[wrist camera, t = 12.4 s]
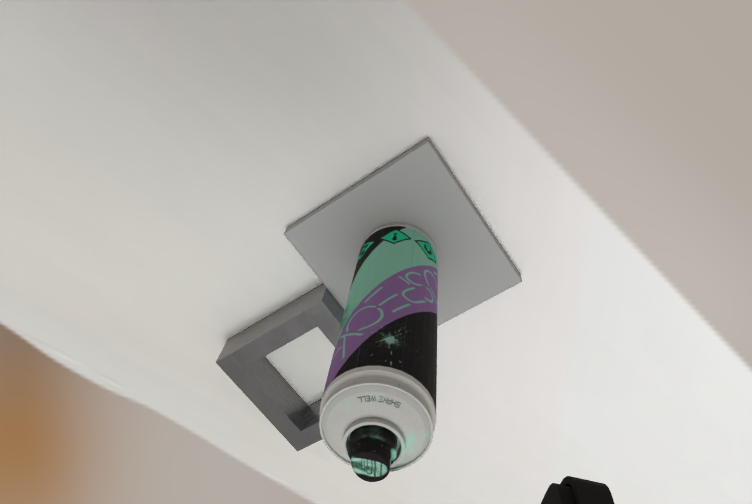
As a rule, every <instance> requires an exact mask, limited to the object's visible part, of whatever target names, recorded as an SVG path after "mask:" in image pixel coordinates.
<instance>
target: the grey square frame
mask: <svg viewBox="0 0 752 504" xmlns="http://www.w3.org/2000/svg"><path fill="white" fill-rule="evenodd" d="M344 311H345V310H344V308H343V307H342V306H341V305H340V304H339V302H338V301H337V300H336V299H335V297H334V296H333V295H332V294H331V292H330V291H329V290H328V289H327V287H326V286H325V285H324V284H321V285H320V286H318V287H316V288H315V289H313V290H311V291H310V292H308V293H306V294H305V295H303V296H301V297H299V298H298V299H296V300H294V301H293V302H291V303H289V304H288V305H286V306H284V307H283V308H281V309H279V310H277V311H276V312H274V313H272V314H271V315H269V316H267V317H266V318H264V319H262V320H260V321H259V322H257V323H255V324H254V325H252V326H250V327H249V328H247V329H245V330H244V331H242V332H240V333H238V334H237V335H235V336H233V337H232V338H230V339H228V340H227V342H226V344H225V346H224V348H223V350H222V352H221V353H220V355H219V357H218V359H217V361H216V363H217V364H218V365H219V366H220V367H221V369H222V370H223V371H224V372H225V373H226V374H227V375H228V376H229V377H230V378H231V379H232V381H233V382H234V383H235V384H236V385H237V386H238V387H239V388H240V389H241V390H242V391H243V393H244V394H245V395H246V396H247V397H248V398H249V399H250V400H251V401H252V402H253V403H254V404H255V406H256V407H257V408H258V409H259V410H260V411H261V412H262V413H263V414H264V415H265V416H266V418H267V419H268V420H269V421H270V422H271V423H272V424H273V425H274V426H275V427H276V428H277V430H278V431H279V432H280V433H281V434H282V435H283V436H284V437H285V438H286V439H287V440H288V441H289V443H290V444H291V445H292V446H293V447H294V448H295V449H296V450H297V451H299V450H301V449H303V448H305V447H307V446H309V445H311V444H313V443H315V442H317V441H320V440H322V436H321V434H320V428H319V420H320V405H321V401H322V399H321V400H319V401H317V402H315V403H313V404H311V405H309V406H307V404H306V403H305V402H304V401H303V400H302V399H301V398H300V397H299V395H298V394H297V393H296V392H295V391H294V390H293V389H292V387H291V386H290V385H289V384H288V383H287V382H286V381H285V380H284V378H283V377H282V376H281V375H280V374H279V373H278V372H277V370H276V369H275V368H274V367H273V366H272V365H271V364H270V363H269V361H268V360H267V359H266V358H265V357H264V356H266V355H268V354H269V353H271V352H273V351H275V350H276V349H278V348H280V347H282V346H283V345H285V344H287V343H289V342H291V341H292V340H294V339H296V338H298V337H299V336H301V335H303V334H305V333H306V332H308V331H310V330H312V329H313V328H315V327H317V326H318V327H319V328H320V330H321V331H322V332H323V333H324V335H325V336H326V337H327V338H328V339H329V341H330V342H331V343H332V344H333V345H334V347H335V346H336V342H337V338H338V334H339V331H340V327H341V323H342V319H343V315H344Z"/></svg>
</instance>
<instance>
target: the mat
mask: <svg viewBox="0 0 752 504" xmlns="http://www.w3.org/2000/svg"><path fill="white" fill-rule="evenodd" d="M393 222H402V223H408V224H411V225H414V226H416V227H418V228H420V229H422V230H423V231H424V232H425V233H427V234H428V235H429V237H430V238H431V239H432V241H433V243H434V244H435V247H436V250H437V255H438V298H437V326H439V325H440V324H442V323H444V322H446V321H448V320H450V319H452V318H454V317H456V316H458V315H459V314H461V313H463V312H465V311H467V310H469V309H471V308H473V307H475V306H477V305H479V304H480V303H482V302H484V301H486V300H488V299H490V298H492V297H494V296H496V295H498V294H499V293H501V292H503V291H505V290H507V289H509V288H511V287H513V286H515V285H517V284H518V283H520V282H522V279H521V275H520V273H519V272H518V270H517V269H516V267H515V266H514V264H513V263H512V261H511V260H510V258H509V257H508V255H507V254H506V252H505V251H504V250H503V248H502V247H501V245H500V244H499V242H498V241H497V239H496V238H495V236H494V235H493V233H492V232H491V230H490V229H489V227H488V226H487V224H486V223H485V221H484V220H483V218H482V217H481V215H480V214H479V212H478V211H477V209H476V208H475V206H474V205H473V203H472V202H471V200H470V199H469V197H468V196H467V194H466V193H465V191H464V190H463V188H462V187H461V185H460V184H459V183H458V181H457V180H456V178H455V177H454V175H453V174H452V172H451V171H450V169H449V168H448V166H447V165H446V163H445V162H444V160H443V159H442V157H441V156H440V154H439V153H438V151H437V150H436V148H435V147H434V145H433V144H432V142H431V141H430V139H429V138H427V139H425V140H424V141H422V142H421V143H419V144H418V145H416V146H415V147H413V148H411V149H410V150H408V151H407V152H405V153H404V154H402V155H400V156H399V157H397V158H396V159H394V160H393V161H391V162H389V163H388V164H386V165H385V166H383V167H382V168H380V169H379V170H377V171H375V172H374V173H372V174H371V175H369V176H368V177H366V178H364V179H363V180H361V181H360V182H358V183H357V184H355V185H353V186H352V187H350V188H349V189H347V190H346V191H344V192H343V193H341V194H339V195H338V196H336V197H335V198H333V199H332V200H330V201H328V202H327V203H325V204H324V205H322V206H321V207H319V208H318V209H316V210H314V211H313V212H311V213H310V214H308V215H307V216H305V217H303V218H302V219H300V220H299V221H297V222H296V223H294V224H292V225H291V226H289V227H288V228H287V229H286V231H285V232H284V235H285V236H286V237H287V239H288V240H289V241H290V242H291V244H292V245H293V246H294V247H295V249H296V250H297V251H298V252H299V254H300V255H301V256H302V257H303V259H304V260H305V261H306V262H307V264H308V265H309V266H310V267H311V269H312V270H313V271H314V272H315V274H316V275H317V276H318V277H319V279H320V280H321V281H322V282H323V284H324V285H325V286H326V287H327V289H328V290H329V291H330V292H331V294H332V295H333V296H334V297H335V299H336V300H337V301H338V302H339V304H340V305H341V306H342V307H343V308H344V310H345V307H346V303H347V299H348V296H349V292H350V288H351V284H352V280H353V276H354V272H355V268H356V264H357V260H358V257H359V253H360V250H361V247H362V244H363V242H364V240H365V239H366V237H367V236H368V235H369V234H370V233H371V232H372V231H373V230H374V229H376V228H377V227H379V226H382V225H384V224H388V223H393Z"/></svg>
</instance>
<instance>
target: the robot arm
mask: <svg viewBox="0 0 752 504" xmlns="http://www.w3.org/2000/svg"><path fill="white" fill-rule="evenodd" d="M541 504H614V501H613V498H612V495H611V492H610V490H609V488H608V487H607V486H606V485H605V484H603V483H598V482H593V481H589V480H584V479H579V478H575V477H570V476H567V477H565V478H564V479H563V481H562V482H561V484H555V483H552V484H551V485H550V486H549V488H548V490H547V492H546V494H545V496H544V498H543V500H542V502H541Z"/></svg>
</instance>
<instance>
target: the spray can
mask: <svg viewBox="0 0 752 504" xmlns="http://www.w3.org/2000/svg"><path fill="white" fill-rule="evenodd" d="M437 298H438V255H437V250H436V247H435V244H434V243H433V241H432V239H431V238H430V237H429V235H428V234H427V233H425V232H424V231H423V230H422V229H420V228H418V227H416V226H414V225H411V224H408V223H402V222H393V223H388V224H384V225H382V226H379V227H377V228H376V229H374V230H373V231H372V232H371V233H370V234H369V235H368V236H367V237H366V239H365V240H364V242H363V244H362V247H361V250H360V253H359V257H358V260H357V264H356V268H355V272H354V276H353V280H352V284H351V288H350V292H349V296H348V299H347V303H346V307H345V311H344V315H343V319H342V323H341V327H340V331H339V334H338V338H337V342H336V346H335V350H334V354H333V358H332V362H331V366H330V370H329V373H328V377H327V381H326V385H325V389H324V393H323V397H322V401H321V405H320V420H319V428H320V434H321V436H322V439H323V441H324V443H325V445H326V446H327V448H328V449H329V450H330V451H331V452H332V453H333V454H334V455H335V456H336V457H337V458H338V459H340V460H341V461H343V462H344V463H346V464H348V465H350V466H352V468H353V470H354V472H355V473H356V475H357V476H358V477H360V478H361V479H363V480H365V481H369V482H376V481H380V480H382V479H384V478H385V477H386V476H387V475H388V473H389V472H390V471H397V470H400V469H403V468H406V467H408V466H410V465H412V464H414V463H415V462H417V461H418V460H419V459H420V458H422V457H423V455H424V454H425V453H426V452H427V450H428V449H429V447H430V444H431V442H432V438H433V432H434V429H435V424H436V374H437Z"/></svg>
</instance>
